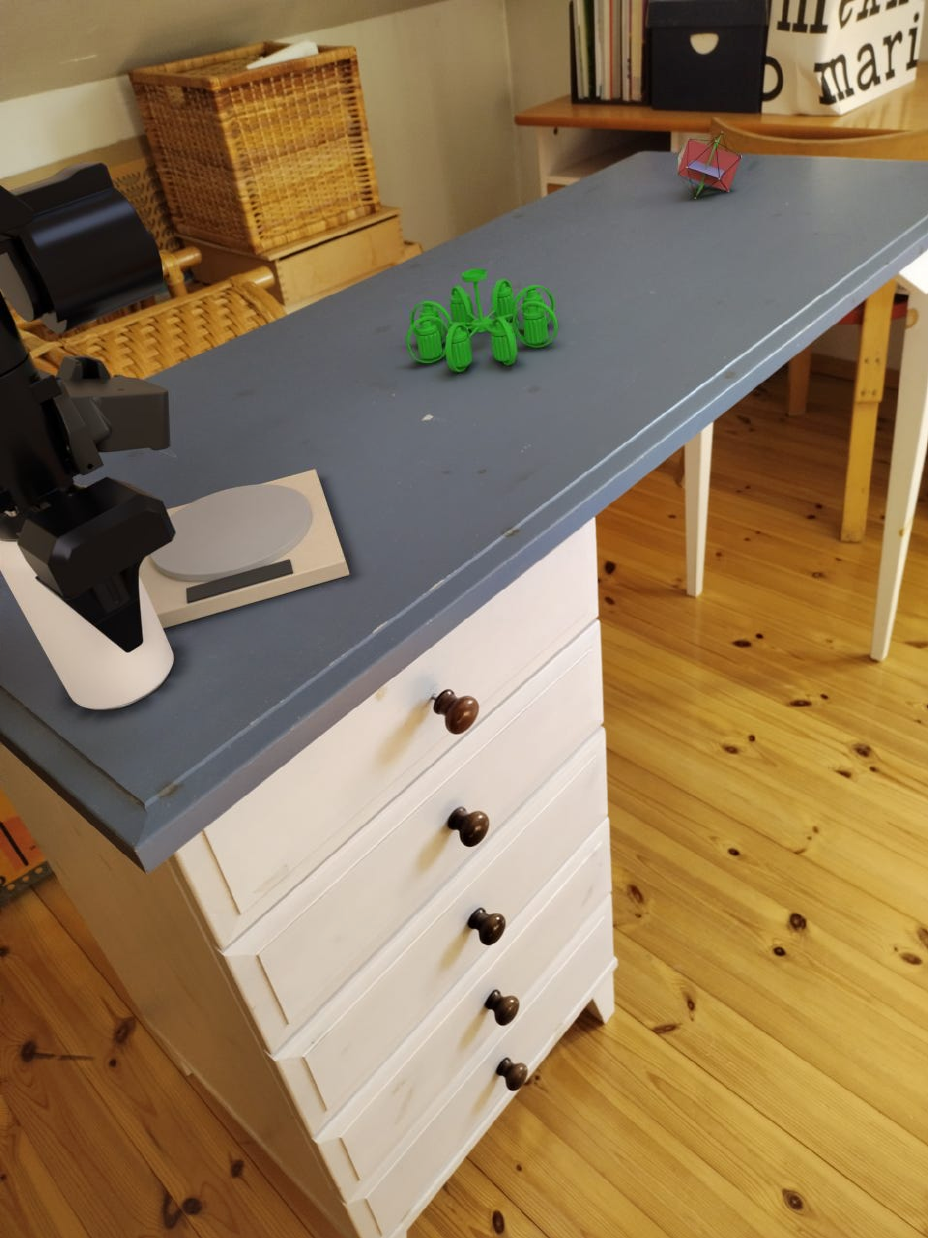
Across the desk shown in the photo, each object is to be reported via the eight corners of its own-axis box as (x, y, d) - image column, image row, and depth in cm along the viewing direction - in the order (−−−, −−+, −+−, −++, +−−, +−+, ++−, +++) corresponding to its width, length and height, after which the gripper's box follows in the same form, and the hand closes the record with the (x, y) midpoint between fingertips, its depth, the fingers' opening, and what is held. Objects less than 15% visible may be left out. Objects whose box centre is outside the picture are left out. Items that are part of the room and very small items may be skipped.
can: (190, 640, 60) (119, 474, 53) (154, 712, 55) (70, 539, 48) (96, 646, 61) (15, 484, 54) (53, 717, 56) (-44, 548, 49)
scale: (140, 635, 61) (130, 613, 60) (141, 531, 72) (132, 510, 71) (349, 575, 63) (343, 552, 62) (319, 482, 74) (313, 461, 73)
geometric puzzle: (757, 163, 117) (718, 109, 115) (748, 179, 112) (707, 123, 110) (710, 202, 122) (671, 151, 120) (699, 219, 117) (659, 166, 115)
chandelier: (380, 377, 88) (364, 303, 84) (447, 314, 99) (435, 246, 94) (530, 382, 82) (520, 304, 78) (584, 315, 93) (578, 242, 88)
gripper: (210, 335, 44) (300, 601, 54) (39, 287, 56) (138, 512, 65) (-15, 440, 39) (129, 715, 48) (-153, 362, 50) (-15, 596, 60)
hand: (97, 621), depth 55 cm, fingers closed on can, 8 cm apart
